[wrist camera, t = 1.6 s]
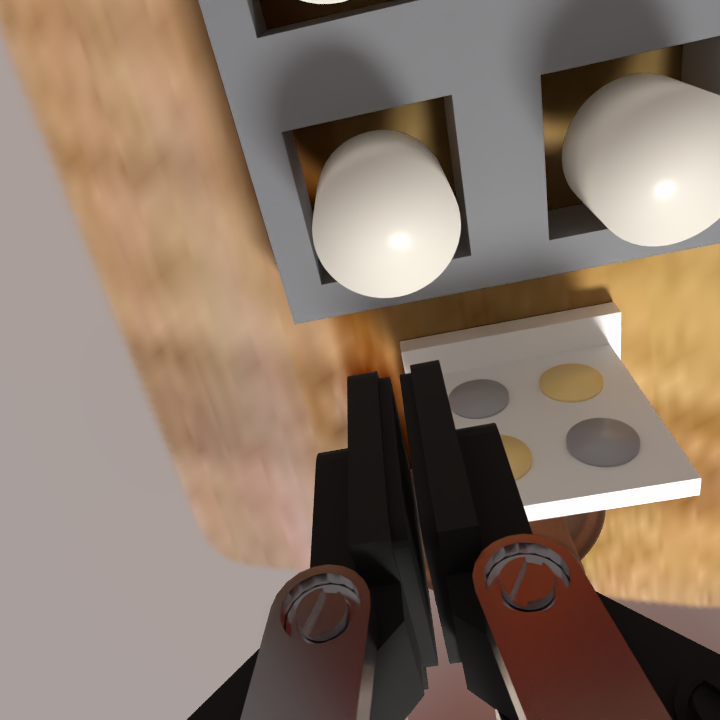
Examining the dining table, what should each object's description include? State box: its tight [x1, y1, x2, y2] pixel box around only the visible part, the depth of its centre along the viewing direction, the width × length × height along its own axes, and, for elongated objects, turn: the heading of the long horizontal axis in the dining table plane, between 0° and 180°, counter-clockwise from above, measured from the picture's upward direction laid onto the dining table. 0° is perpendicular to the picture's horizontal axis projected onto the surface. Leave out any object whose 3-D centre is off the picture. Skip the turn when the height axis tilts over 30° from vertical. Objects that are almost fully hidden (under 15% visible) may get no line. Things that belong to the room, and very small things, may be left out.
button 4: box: [312, 130, 461, 298], centre depth 22 cm, size 5×5×4 cm
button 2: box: [562, 73, 720, 246], centre depth 21 cm, size 5×5×4 cm
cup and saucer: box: [410, 469, 605, 605], centre depth 34 cm, size 12×12×6 cm
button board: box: [198, 0, 720, 324], centre depth 22 cm, size 18×18×3 cm
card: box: [400, 302, 701, 521], centre depth 26 cm, size 10×3×10 cm, turn 102°
